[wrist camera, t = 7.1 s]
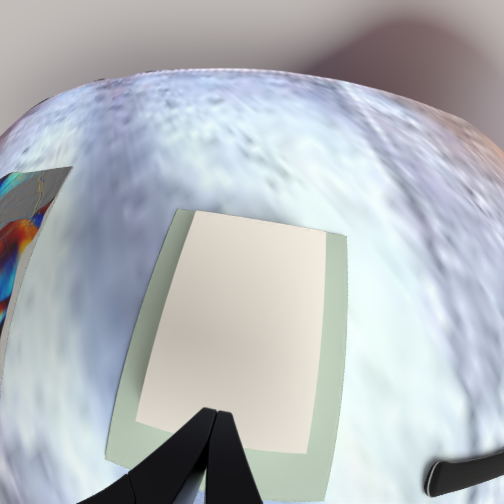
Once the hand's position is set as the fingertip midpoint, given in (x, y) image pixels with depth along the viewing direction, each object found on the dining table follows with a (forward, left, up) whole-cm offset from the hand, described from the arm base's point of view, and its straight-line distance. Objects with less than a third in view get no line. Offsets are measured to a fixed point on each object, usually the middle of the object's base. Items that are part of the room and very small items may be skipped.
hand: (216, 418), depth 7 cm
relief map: (-16, +23, -10) cm, 30 cm away
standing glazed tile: (-1, -1, -7) cm, 8 cm away
